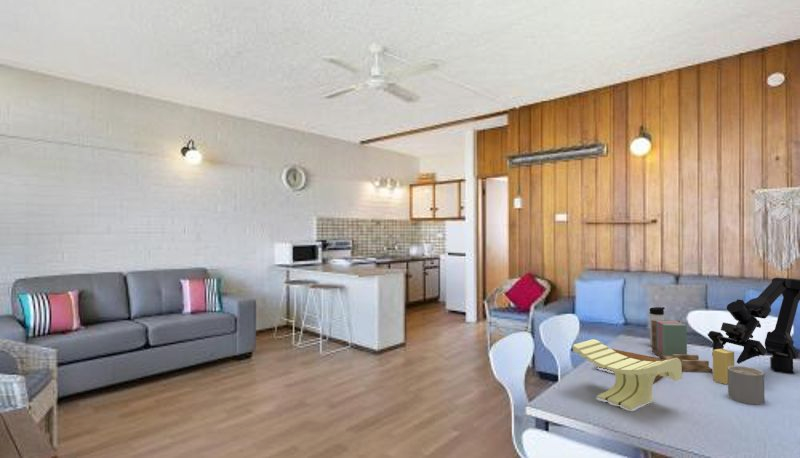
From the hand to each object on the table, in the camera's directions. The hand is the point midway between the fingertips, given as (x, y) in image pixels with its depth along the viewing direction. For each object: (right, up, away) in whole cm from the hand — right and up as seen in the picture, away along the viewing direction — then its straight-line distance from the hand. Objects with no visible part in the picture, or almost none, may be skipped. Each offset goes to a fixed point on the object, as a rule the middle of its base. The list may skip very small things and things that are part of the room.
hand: (725, 359), depth 166 cm
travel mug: (+3, -9, +48) cm, 49 cm away
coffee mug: (-4, -9, -15) cm, 18 cm away
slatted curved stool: (-47, -10, -15) cm, 50 cm away
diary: (-28, -10, +15) cm, 33 cm away
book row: (0, -7, +32) cm, 33 cm away
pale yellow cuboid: (-1, -9, 0) cm, 9 cm away
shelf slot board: (-1, -8, +25) cm, 26 cm away
